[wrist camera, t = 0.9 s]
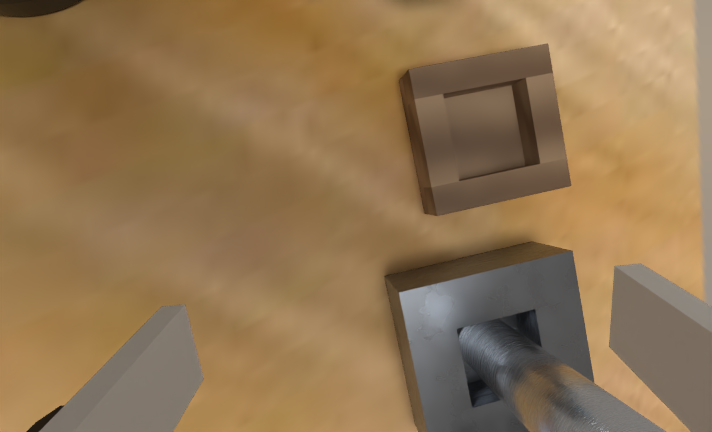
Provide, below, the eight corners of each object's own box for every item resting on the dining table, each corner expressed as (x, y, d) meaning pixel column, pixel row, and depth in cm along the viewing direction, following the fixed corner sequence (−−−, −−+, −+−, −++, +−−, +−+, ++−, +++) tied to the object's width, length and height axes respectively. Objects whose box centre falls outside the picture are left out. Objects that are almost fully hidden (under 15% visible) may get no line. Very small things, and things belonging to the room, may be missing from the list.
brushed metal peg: (453, 322, 30) (618, 472, 14) (505, 309, 30) (722, 441, 14) (463, 374, 30) (636, 578, 14) (514, 360, 31) (737, 545, 15)
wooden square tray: (398, 81, 30) (408, 69, 27) (525, 57, 31) (547, 43, 28) (424, 213, 31) (437, 215, 28) (546, 186, 32) (571, 185, 29)
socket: (384, 276, 31) (398, 292, 26) (531, 241, 32) (572, 250, 27) (415, 424, 32) (434, 466, 27) (556, 385, 33) (600, 419, 28)
